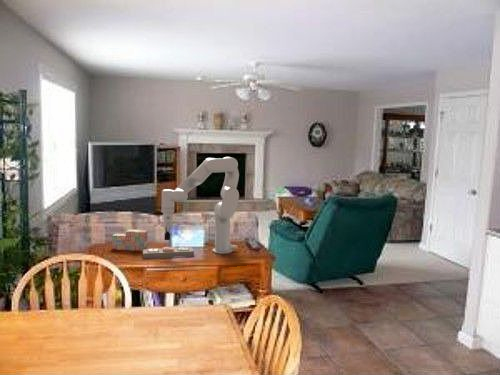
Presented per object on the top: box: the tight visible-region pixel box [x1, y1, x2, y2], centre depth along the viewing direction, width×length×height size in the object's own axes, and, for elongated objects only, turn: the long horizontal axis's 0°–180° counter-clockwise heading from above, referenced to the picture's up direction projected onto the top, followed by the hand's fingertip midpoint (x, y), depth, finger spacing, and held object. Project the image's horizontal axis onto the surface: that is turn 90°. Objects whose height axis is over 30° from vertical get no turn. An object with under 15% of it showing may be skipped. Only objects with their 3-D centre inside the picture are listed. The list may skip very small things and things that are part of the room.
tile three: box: [162, 246, 174, 252], centre depth 270 cm, size 6×6×3 cm
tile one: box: [147, 248, 159, 253], centre depth 268 cm, size 6×6×3 cm
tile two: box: [177, 246, 188, 251], centre depth 272 cm, size 6×6×3 cm
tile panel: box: [142, 246, 195, 259], centre depth 270 cm, size 30×10×3 cm, turn 103°
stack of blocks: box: [111, 228, 148, 252], centre depth 283 cm, size 21×6×12 cm, turn 84°
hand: (167, 239), depth 269 cm, fingers closed
